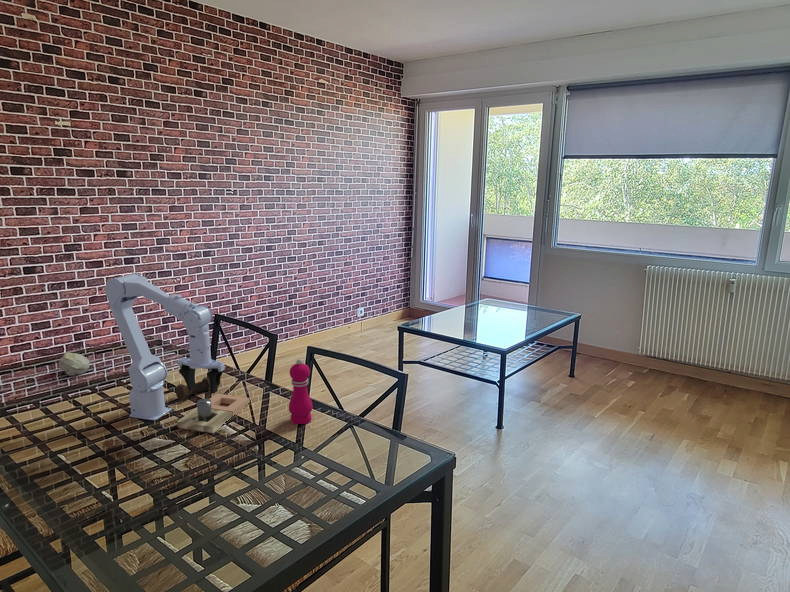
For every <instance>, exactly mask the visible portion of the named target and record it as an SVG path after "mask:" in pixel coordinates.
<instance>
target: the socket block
mask: <svg viewBox="0 0 790 592" xmlns="http://www.w3.org/2000/svg"><path fill="white" fill-rule="evenodd" d="M209 399H210V400H211V408H212V409H215V410H221V411H228V412H232V416H234V415H235V414H236V415H238V414H239V413H240V412H241V411H242V409H243V408H244V407H245V406H246V405H247V404H248V403H251V402H250V397H244V396H236V395H229V394H222V393H215V394H214V395H212V397H210V398H209ZM222 404H223V405H222ZM224 404H225V405H228V406H224ZM246 407H247V406H246ZM246 407H245V408H246ZM245 408H244V409H245ZM244 409H243V410H244ZM238 412H239V413H238ZM237 413H238V414H237ZM236 415H235V416H236ZM235 416H234V417H235Z"/></svg>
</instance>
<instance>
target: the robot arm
mask: <svg viewBox="0 0 790 592" xmlns="http://www.w3.org/2000/svg"><path fill="white" fill-rule="evenodd" d="M103 291H104V293H105V296H106V298H107V301H108V303H109V308H110V311H111V314H112V316H113V319H114V320H115V323H116V325H117V327H118V330H119V333H120V335H121V337H122V339H123V341H124V343H125V346H126V348H127V351H128V354H129V355H130V356H129V357H130V358H131V360H132V362H131V364H130V366H129V368H128V369H127V370H128V374H129V381H130V386H132V388H131V390H130V392H129V405H130V407H129V408H130V414H129V416H128V417H130V418H135V419H143V420H148V421H156V420H158V419H160V418H161V417H162V416H165V415H166V414H168V413H169V412H171V411H172V410H173V409H172V407H166V403H165V402H166V401H165V392H164V391H165V390H164V385H165V380H166V379H167V378H168V374H169V372H168V369H167V367H166V366H165V364H164V363H163V362H162V360H161V357H159V356H157V355H154V354H152V353H151V351H150V347H149V345H148V343H147V341H146V339H145V336H144V333H143V331H142V329H141V325H140V324H139V321H138V318H137V316H136V314H135V312H134V310H133V305H134V303H135V301H136V300H137V298H138V297H140V296H142V298H143V297H144V298H145V299H148V300H150V301H151V302H155V303H156V304H158V305H161V306H163V309H164V312H165V313H168V314H169V315H172V316H173V317H175V318H177V319H179V320H180V321H182V324H183V326H184V327H185V329H186V333H187V335H188V347H189V357H187V358H184V357H183V358H182V357H181V358H179V359H178V360H176V361H177V367H180V368H179V369H178V373H179V374H180V375H181V376H182V378H183V380H184V381H185V385H186V386H188V389H189V391H191V390H193V389H194V388H195V383H196V369H205V370H210V371H208V372H207V373H206V377H208V378H209V381H210V389H211V391H210V394H212V395H213V394H214V395H215V394H216V393H217V392H218V388H219V385H218V384H219V381H220V380H221V377H222V375H223V373H224V372H225V370H226V367H225V363H224V362H221V361H217V360H215V359H212V355H211V353H212V352H211V340H210V326H209V324H210V323H212V320H213V312H212V311H211V308H209V307H208V306H206V305H205V304H200V305H198V304H196V303H194V302H191V301H188V300H187V299H185V298H183V295H181V294H172V295H170V294H168V293H167V292H165V291H163V290H162V289H160V288H159V287H157V286H156V285H154V284H152V283H151V282H149V281H148V278H147V277H146V276H144V275H141V274H140V273H138V272H133V273H130V274H127V275H122V276H118V277H112V278H109V279H108V280H107V281H106V283H105V286H104V288H103ZM220 382H221V381H220Z"/></svg>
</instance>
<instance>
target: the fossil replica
mask: <svg viewBox="0 0 790 592" xmlns="http://www.w3.org/2000/svg"><path fill="white" fill-rule="evenodd" d="M90 365H91V362H90V359H89V358H87V357H85V356H84V355H83V354H80V353H77V352H75V353H74V352H65V353H64V354H63V356H62V357H61V358H60V359H59V362H58V366H59V370H61V371H62V372H65V374H66V375H68V376H69V377H72V376H77V375H82V374H84V373H86V371H88V370H89V368H90Z"/></svg>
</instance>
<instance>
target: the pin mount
mask: <svg viewBox="0 0 790 592" xmlns="http://www.w3.org/2000/svg"><path fill="white" fill-rule="evenodd" d="M231 417H232V412H228V411H221V410H215V409H212V419H211V420H210V421H208V422H204V421H198V412H197V407H195V408H194V409H193V410H192V411H190V412H188V413H187V414H186V415H184V416H183V417H181V418H180V419H179V420H177V421H176V424H177V426H176V427H177V428H179V429H185V430H191V431H197V432H202V433H209V434H215V433H216V432H217V431H219V429H220V428H222V427H223V426H224V425H226V423H225V422H226V421H228V420H229V419H230V418H231ZM232 418H233V417H232ZM230 420H231V419H230ZM230 420H229V421H230ZM229 421H228V422H229ZM223 424H224V425H223ZM222 425H223V426H222ZM221 426H222V427H221Z"/></svg>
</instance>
